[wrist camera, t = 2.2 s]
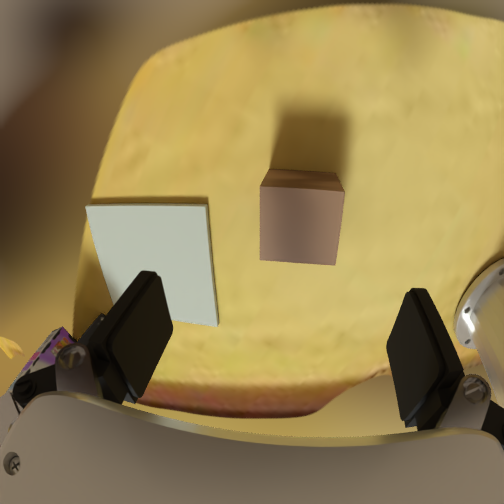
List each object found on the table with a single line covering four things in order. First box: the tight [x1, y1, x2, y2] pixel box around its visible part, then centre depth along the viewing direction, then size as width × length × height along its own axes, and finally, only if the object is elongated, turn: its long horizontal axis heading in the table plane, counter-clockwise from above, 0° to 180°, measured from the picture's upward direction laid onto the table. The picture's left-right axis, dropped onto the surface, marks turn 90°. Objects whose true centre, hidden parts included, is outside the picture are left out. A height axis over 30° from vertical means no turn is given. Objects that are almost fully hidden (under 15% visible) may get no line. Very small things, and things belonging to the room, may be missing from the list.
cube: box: [260, 169, 345, 265], centre depth 19 cm, size 5×5×5 cm
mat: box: [86, 203, 219, 327], centre depth 27 cm, size 13×13×1 cm
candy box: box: [5, 327, 77, 394], centre depth 33 cm, size 14×6×16 cm, turn 30°
